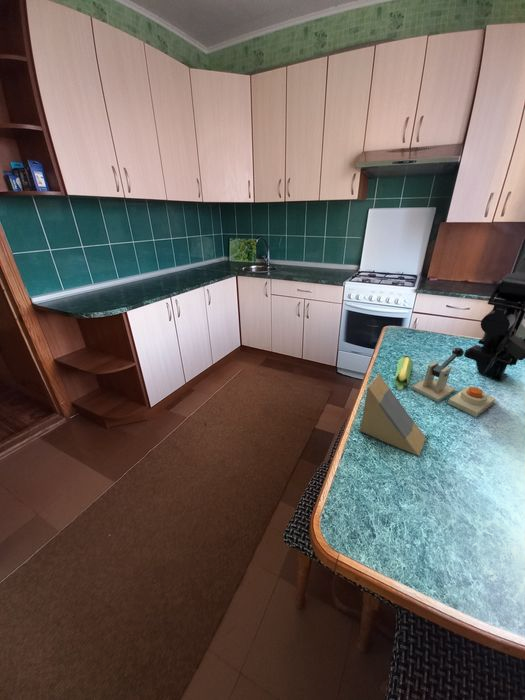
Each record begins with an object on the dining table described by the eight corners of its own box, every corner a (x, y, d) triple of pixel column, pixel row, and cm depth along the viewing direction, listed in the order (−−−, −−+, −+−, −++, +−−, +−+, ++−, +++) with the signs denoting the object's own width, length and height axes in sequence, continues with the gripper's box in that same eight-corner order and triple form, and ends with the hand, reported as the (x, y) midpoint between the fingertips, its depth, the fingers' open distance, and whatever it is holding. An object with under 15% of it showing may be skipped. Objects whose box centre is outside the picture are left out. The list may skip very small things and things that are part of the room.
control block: (466, 390, 97) (469, 381, 95) (493, 402, 91) (497, 393, 89) (447, 403, 91) (450, 394, 89) (475, 417, 85) (479, 407, 83)
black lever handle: (455, 351, 100) (456, 344, 98) (465, 354, 97) (466, 347, 95) (430, 374, 96) (431, 368, 94) (440, 379, 93) (441, 372, 91)
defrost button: (470, 390, 92) (472, 385, 91) (483, 395, 89) (485, 391, 88) (464, 393, 90) (466, 389, 89) (477, 399, 87) (479, 395, 86)
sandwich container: (419, 457, 72) (434, 409, 65) (359, 431, 81) (367, 386, 74) (426, 436, 78) (441, 391, 72) (370, 415, 87) (378, 372, 80)
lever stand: (427, 379, 103) (434, 356, 99) (454, 391, 96) (462, 367, 92) (411, 388, 98) (417, 365, 94) (437, 402, 92) (445, 377, 87)
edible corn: (412, 366, 112) (415, 355, 109) (407, 393, 96) (410, 381, 94) (398, 363, 114) (400, 352, 112) (390, 389, 98) (393, 377, 96)
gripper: (523, 343, 68) (500, 397, 75) (551, 325, 77) (528, 375, 84) (472, 328, 77) (455, 378, 84) (502, 314, 85) (485, 360, 93)
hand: (482, 373), depth 86 cm, fingers closed
